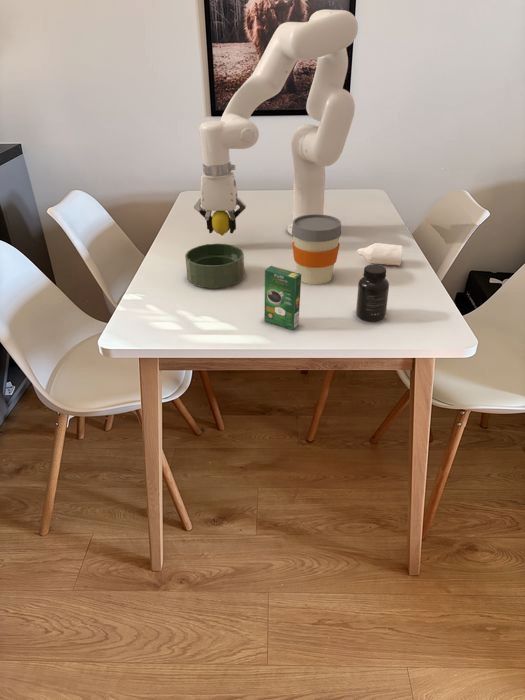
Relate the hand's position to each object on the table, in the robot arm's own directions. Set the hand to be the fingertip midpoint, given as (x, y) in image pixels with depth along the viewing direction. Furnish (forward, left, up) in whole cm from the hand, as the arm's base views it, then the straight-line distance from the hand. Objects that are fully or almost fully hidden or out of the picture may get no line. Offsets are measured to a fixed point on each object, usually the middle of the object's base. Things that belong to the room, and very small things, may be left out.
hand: (221, 231), depth 164 cm
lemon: (0, 0, -2) cm, 1 cm away
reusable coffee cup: (-28, +18, -5) cm, 34 cm away
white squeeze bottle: (-45, +7, -5) cm, 46 cm away
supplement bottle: (-42, +38, -5) cm, 57 cm away
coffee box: (-22, +44, -5) cm, 50 cm away
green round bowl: (-2, +21, -5) cm, 22 cm away
